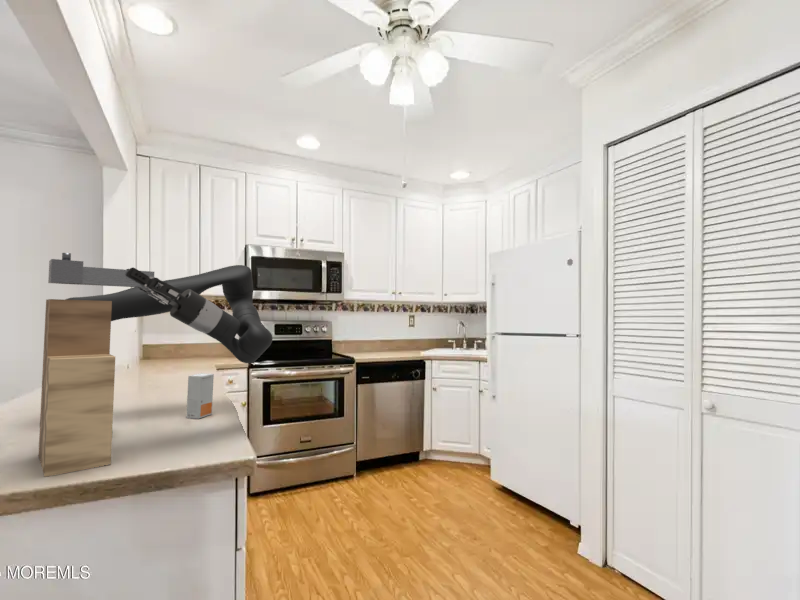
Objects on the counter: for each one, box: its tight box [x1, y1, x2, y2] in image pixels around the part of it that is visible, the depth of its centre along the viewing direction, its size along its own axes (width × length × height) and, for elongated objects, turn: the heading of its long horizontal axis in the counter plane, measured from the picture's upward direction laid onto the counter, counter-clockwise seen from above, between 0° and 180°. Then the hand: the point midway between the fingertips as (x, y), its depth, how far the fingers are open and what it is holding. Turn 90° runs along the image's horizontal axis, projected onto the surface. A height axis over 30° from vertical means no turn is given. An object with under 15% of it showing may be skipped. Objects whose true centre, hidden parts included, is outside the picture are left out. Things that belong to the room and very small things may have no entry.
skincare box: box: [185, 372, 215, 420], centre depth 124 cm, size 6×4×12 cm
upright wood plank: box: [37, 298, 116, 478], centre depth 87 cm, size 15×10×32 cm, turn 43°
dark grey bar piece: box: [48, 252, 155, 288], centre depth 91 cm, size 5×18×6 cm, turn 133°
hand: (127, 271), depth 94 cm, fingers closed on dark grey bar piece, 3 cm apart
